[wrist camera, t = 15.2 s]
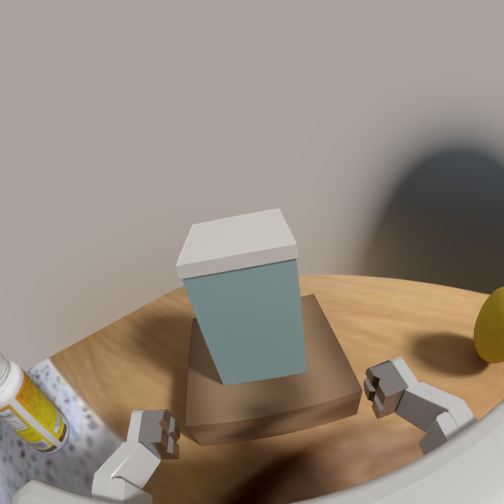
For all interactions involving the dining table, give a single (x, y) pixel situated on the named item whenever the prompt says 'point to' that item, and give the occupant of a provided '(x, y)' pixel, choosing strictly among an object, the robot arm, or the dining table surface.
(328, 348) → the walnut block
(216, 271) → the tea tin
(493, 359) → the lemon
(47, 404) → the supplement bottle
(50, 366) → the dining table surface
